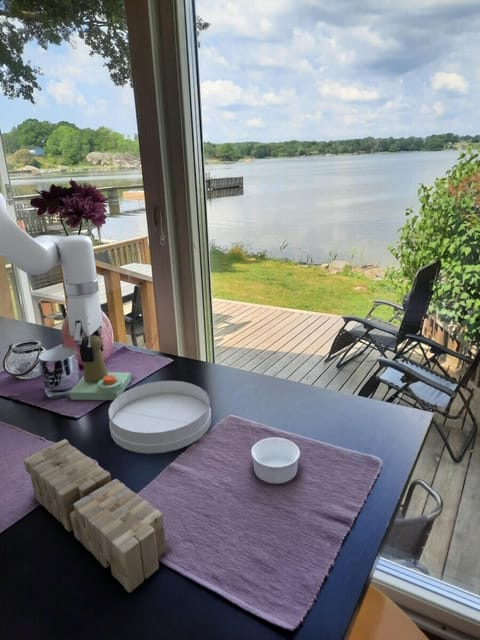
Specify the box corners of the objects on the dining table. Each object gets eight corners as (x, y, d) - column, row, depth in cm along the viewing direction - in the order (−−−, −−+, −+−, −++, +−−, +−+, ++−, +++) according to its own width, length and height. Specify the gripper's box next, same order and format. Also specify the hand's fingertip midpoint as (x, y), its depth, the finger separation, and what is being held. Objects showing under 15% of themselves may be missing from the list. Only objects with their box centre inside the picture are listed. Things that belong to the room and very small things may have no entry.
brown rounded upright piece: (113, 374, 115) (107, 335, 111) (95, 383, 110) (88, 343, 107) (96, 369, 118) (91, 331, 114) (78, 378, 113) (72, 339, 110)
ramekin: (244, 462, 84) (244, 443, 83) (286, 451, 87) (286, 432, 86) (263, 492, 77) (263, 472, 75) (308, 479, 80) (308, 459, 78)
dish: (144, 392, 111) (142, 375, 109) (226, 406, 104) (225, 387, 102) (88, 443, 92) (85, 423, 90) (184, 464, 84) (182, 442, 83)
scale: (70, 401, 108) (67, 387, 107) (88, 380, 119) (85, 366, 117) (119, 402, 107) (117, 387, 106) (132, 380, 118) (131, 366, 117)
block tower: (173, 562, 65) (72, 472, 83) (170, 518, 62) (66, 435, 80) (128, 601, 59) (30, 495, 77) (122, 554, 56) (22, 456, 74)
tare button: (102, 385, 108) (101, 380, 107) (106, 380, 110) (105, 374, 110) (113, 385, 108) (112, 380, 107) (117, 380, 110) (116, 374, 110)
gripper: (81, 278, 114) (91, 343, 121) (50, 298, 98) (63, 371, 105) (109, 278, 114) (118, 343, 120) (83, 298, 98) (94, 371, 104)
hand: (92, 355), depth 112 cm, fingers closed on brown rounded upright piece, 5 cm apart
